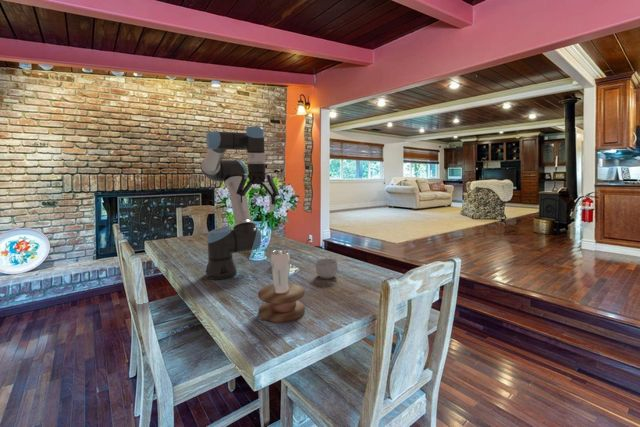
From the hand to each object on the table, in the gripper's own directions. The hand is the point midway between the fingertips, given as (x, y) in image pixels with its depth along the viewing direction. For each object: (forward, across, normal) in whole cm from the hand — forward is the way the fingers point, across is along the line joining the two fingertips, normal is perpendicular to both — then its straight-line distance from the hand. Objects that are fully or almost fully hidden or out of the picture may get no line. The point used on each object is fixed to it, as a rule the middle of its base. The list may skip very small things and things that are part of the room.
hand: (258, 210), depth 143 cm
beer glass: (+25, +22, -25) cm, 42 cm away
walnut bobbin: (+33, +23, -25) cm, 47 cm away
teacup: (+35, +27, +18) cm, 47 cm away
